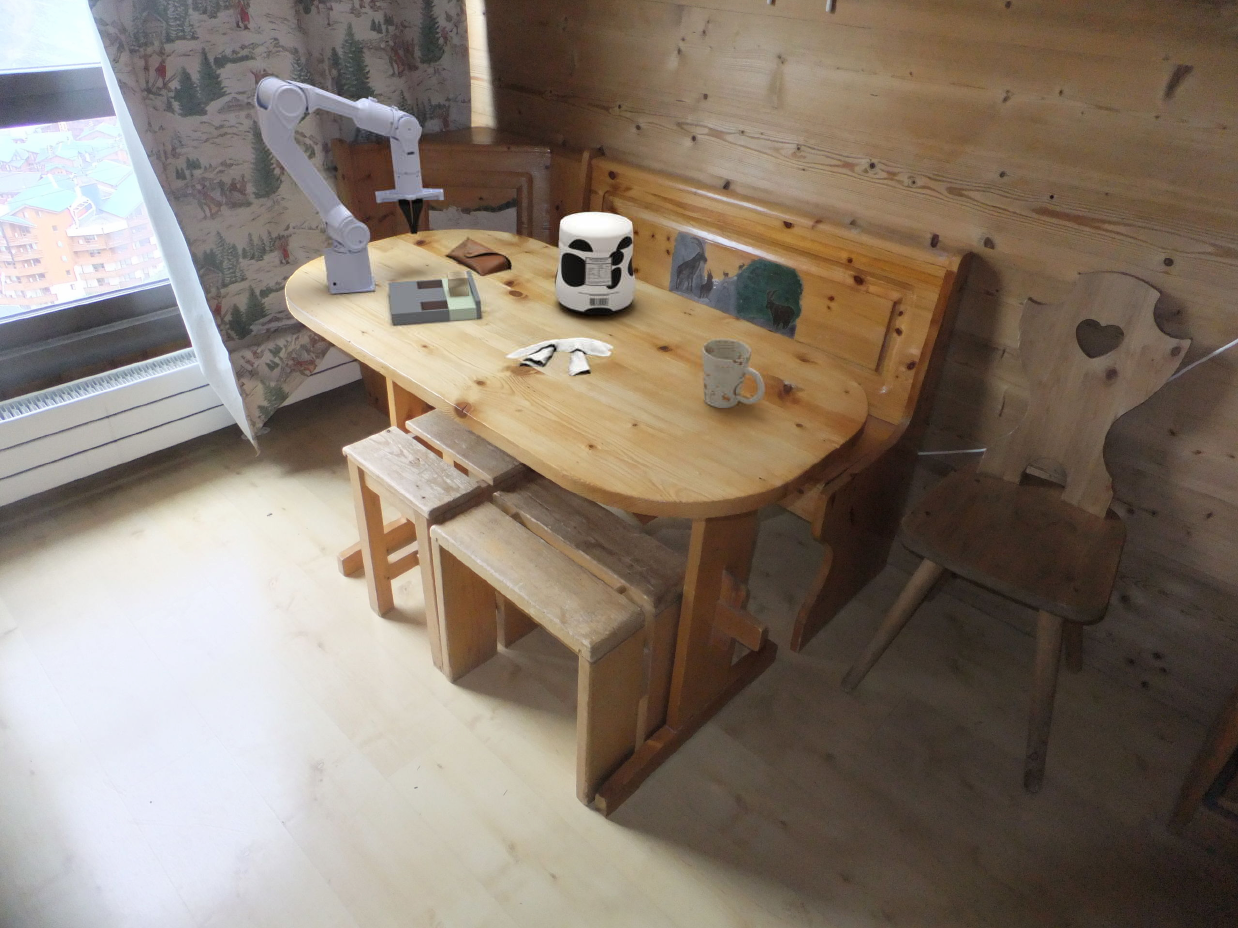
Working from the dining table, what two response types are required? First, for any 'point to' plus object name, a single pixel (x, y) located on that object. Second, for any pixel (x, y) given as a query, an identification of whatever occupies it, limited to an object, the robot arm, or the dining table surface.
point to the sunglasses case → (479, 258)
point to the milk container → (595, 263)
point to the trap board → (432, 302)
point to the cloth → (571, 344)
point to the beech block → (458, 283)
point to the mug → (727, 373)
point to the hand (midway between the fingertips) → (414, 232)
